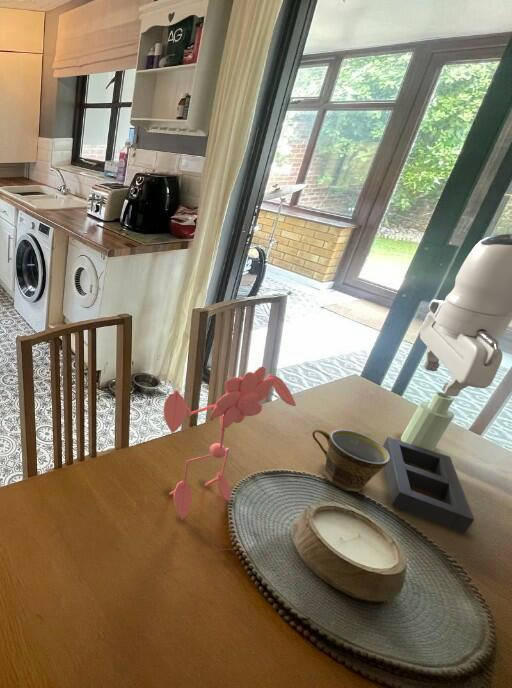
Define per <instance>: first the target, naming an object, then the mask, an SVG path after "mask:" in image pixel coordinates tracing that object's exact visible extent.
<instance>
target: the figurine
mask: <svg viewBox="0 0 512 688" xmlns="http://www.w3.org/2000/svg"><path fill="white" fill-rule="evenodd" d="M265 376H266V366H264V365H263V366H259V367H258V368H257V369H256V370H254V371H253V372H252V371H248V372H246V373H244V374H243V376H242V377H240V376H239V377H238V376H233V377H230V378H229V379H227V380H226V381H225V383H224V389H225V391H226V393H225V394H223V395H222V396H221V397H220V398H219V399H218V400H217V401H216V402H215V403H214V404H211V405H208V406H204V407H202V408H199V409H195V410H193V411H191V409H190V408H189V407H188V405H187V404H186V401H185V398H184V396H182V395H181V394H180V391H179V390H178V389H174V390H173V393H171V394H169V395H168V396H167V398H166V400H165V401H164V405H163V418H164V421H165V424H166V425H167V427H168V430H169V431H170V432H171V434H173V433H175V432H176V431H178V429H179V428H180V427H181V426H182V424H184V421H185V419H186V417H187V413H188V415H189V416H192V415H195V414H199V413H201V412H205V411H207V410H211V409H212V411H211V413H210V418H212V419H217V418H219V423H220V428H221V430H220V441H219V443H216V442H215V443H213V444H211V445H210V447H209V452H210V454H207V455H203V456H199V457H195V458H191V459H187V460H186V461H185V465H184V466H185V467H184V472H183V473H184V474H183V480H181V481H179V482H178V483H176V486H175V488H174V490H172V491H170V492H169V496H173V504H174V508H175V510H176V512H177V514H178V517H179V518H180V519H181V520H184V518H185V517H186V515H187V514H188V512H189V511H190V509H191V506H192V501H193V493H192V490H191V487H190V485H189V483H188V482H187V475H188V474H187V473H188V465H189V463H190V462H191V463H192V462H196V461H199V460H203V459H207V458H210V457H214V458H217V459H221V458H223V457H224V460H223V463H222V464H223V465H222V470H221V471H218V472H217V473H216V477H215V478H213V479H211V480H210V481H207V482H206V483H204V486H205V487H208V486H211V485H212V484H214V483H217V487H218V490H219V494H220V495H221V496H222V497H223V498H224V499H225V500H226V501H228V502H232V498H231V497H232V496H231V490H230V485H229V482H228V479H227V477H226V476H225V474H224V472H225V468H226V464H227V460H228V455H229V451H230V449H229V447H225V446H224V444H223V443H224V438H225V430H226V429H227V428H229V427H231V425H232V424H233V423H236V424H240V423H241V422H242V421H244V419H245V418H246V417H253V416H256V415H258V414H260V413H261V412H262V410H263V405H262V404H261V403H260V402H261V401H263V400H264V399H265V398H267V397H268V396H269V394H271V388H272V387H273V389H274V391H275V393H276V395H278V398H280V400H282V401H283V402H284V403H285V404H287V405H288V406H289V405H290V406H292V407H297V404H296V402H295V401H296V400H295V399H294V397H293V394H292V392H291V390H290V389H289V387H288V386H287V384H286V383H285V382H284V381H283V380H282V378H280V377H278V376H277V375H273V374H272V373H271V374H270V373H269V374H267V377H265ZM144 498H145V500H146V503H148V501H147V497H146V496H144ZM258 515H259V516H258V517H261V516H260V515H261V514H258ZM259 523H262V522H261V520H259ZM256 538H257V536H255V537H254V539H256ZM252 542H253V540H251V541H250V542H249V543H247V544H244V545H242V546H240V547H239V549H241V548H244V547H246V546H249V544H251V543H252ZM212 549H213V550H217V548H215V547H214V548H212ZM237 549H238V547H235V548H234V550H237ZM219 550H221V551H227V550H230V551H231V550H233V548H219Z"/></svg>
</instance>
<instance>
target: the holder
mask: <svg viewBox="0 0 512 688" xmlns="http://www.w3.org/2000/svg"><path fill="white" fill-rule="evenodd" d="M382 446H383V447H384V448H385V449H386V450H387V452H388V453H389V455H390V460H389V462H388V463H387V464H386V465H385V466H384V467H383V468H384V471H385V477H386V482H387V488H388V492H389V498H390V503H391V506H392V507H395V508H397V509H398V510H399V509H400V510H402V511H405V512H407V513H410V514H412V515H415V516H418V517H420V518H422V519H426V520H428V521H432V522H433V523H435V524H439V525H441V526H444V527H446V528H448V529H451V530H453V531H457V532H459V533H462V534H465V533H466V532H467V531H468V530H469V528H470V527H471V525H472V524H473V523H474V521H475V517H474V515H473V512H472V510H471V508H470V505H469V502H468V499H467V497H466V495H465V492H464V489H463V486H462V484H461V482H460V479H459V477H458V474H457V471H456V469H455V466H454V464H453V461H452V459H451V456H448V455H445V454H443V453H439V452H436V451H434V450H433V451H430V450H427V449H424V448H421V447H418V446H415V445H412V444H409V443H405V442H402V441H401V440H398V439H396V438H392V437H389V436H387V437H386V439H385V441H384V443H383V445H382ZM421 468H422V469H421ZM424 469H425V470H424ZM412 488H413V489H416V490H419V491H420V492H424V493H427V494H429V495H433V496H435V497H437V498H440V500H439V499H437V498H433V497H430V496H428V495H425V494H422V493H420V492H418V491H417V492H416V491H414V490H412Z"/></svg>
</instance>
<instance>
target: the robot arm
mask: <svg viewBox="0 0 512 688" xmlns="http://www.w3.org/2000/svg"><path fill="white" fill-rule="evenodd" d="M454 281H455V283H454V287H453V288H452V290H451V291H450V292H449V293H447V295H446V297H445V299H444V300H439V299H432V300H431V301H430V303H429V305H428V310H429V312H428V313H427V314H426V317H425V318H424V321H423V323H422V326H421V329H420V333H419V337H420V340H421V341H422V342H423V343H424V344H425V346H426V347H427V348H426V351H425V360H424V362H423V364H422V367H423V368H424V369H425V370H426V371H428V372H429V371H431V372H437V371H438V369H439V367H440V363H441V364H442V365H443V366H444V367H445V368H446V370H447V371H448V373H450V374H451V375H452V376H451V378H450V379H451V380H450V382H449V383H447V382H445V383H444V385H443V387H441V388H442V392H443V393H445V394H446V395H449V396H452V397H453V398H454V397H458V396H459V394H460V393H461V391H462V390H464V389H465V388H467V387H472V388H477V389H486V388H488V387H490V386H491V385H492V384H493V381H494V380H495V377H496V375H497V373H498V371H499V369H500V367H501V364H502V361H503V351H502V349H500V347H499V344H500V343H499V341H498V339H500V338H502V337H503V335H504V334H505V333H506V331H507V329H508V327H509V325H510V323H511V322H512V233H504V234H495V235H492V236H487V237H485V238H483V239H481V240H480V241H478V243H476V244H475V246H474V247H473V248H472V249H471V251H470V252H469V253H468V255H467V256H466V258H465V259H464V261H463V263H462V265H461V267H460V268H459V270H458V271H457V274H456V276H455V280H454ZM439 362H440V363H439Z"/></svg>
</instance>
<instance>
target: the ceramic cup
mask: <svg viewBox="0 0 512 688" xmlns="http://www.w3.org/2000/svg"><path fill="white" fill-rule="evenodd" d="M316 433H318V434H320V435H322V436H323V437H324V438H325V439H326V442H327V450H326V449H325V448H324V447H323V445H322V443H321V442H320V441H319V439H318V438H317V437H316ZM311 435H312V438H313V440H315V442H316V444H318V446H319V448H320V450H321V451H322V452H323V453H324V456H325V466H324V471H323V473H324V476H325V477H326V478H327V479H328V480H329V483H331V484H332V485H335V486H337V487H339V488H340V489H342V490H344V491H348V492H358V493H359V492H360V491H361V490H362V489H363V488H364V487H365V486H366V485H367V484H368V483H369V481H370V480H371V479H372V478H373V477H375V476H376V475H377V474H378V473H379V472H380V471H382V470H383V469H384V468H385V467H384V466H385V465H386V464H387V463H388V462H389V460H390V455H389V453H388V452H387V450H386V449H385V448H384V447H383V445H382V444H380V443H379V442H377V440H375V439H373V438H371V437H370V436H367V435H365V434H363V433H360V432H356V431H353V430H349V429H336V430H333V431H332V432H331V434H329V433H328V432H327V431H325V430H323V429H314V430H313V431H312V434H311Z"/></svg>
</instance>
